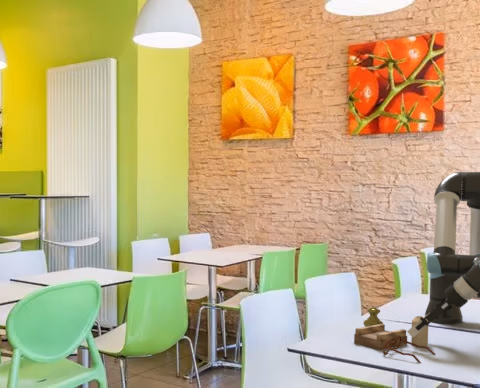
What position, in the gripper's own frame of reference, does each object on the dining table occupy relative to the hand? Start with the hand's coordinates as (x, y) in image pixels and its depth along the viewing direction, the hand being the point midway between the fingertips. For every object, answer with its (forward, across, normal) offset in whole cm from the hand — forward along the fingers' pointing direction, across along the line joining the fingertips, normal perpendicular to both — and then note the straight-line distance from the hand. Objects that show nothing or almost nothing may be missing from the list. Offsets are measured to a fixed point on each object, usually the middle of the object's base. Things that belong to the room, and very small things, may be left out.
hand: (414, 330), depth 203 cm
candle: (+2, 0, -5) cm, 5 cm away
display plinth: (+11, -5, +4) cm, 13 cm away
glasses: (+3, -15, -5) cm, 16 cm away
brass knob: (+16, +8, +8) cm, 19 cm away
